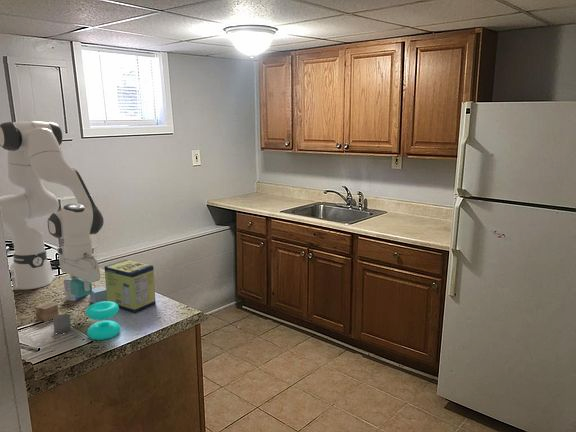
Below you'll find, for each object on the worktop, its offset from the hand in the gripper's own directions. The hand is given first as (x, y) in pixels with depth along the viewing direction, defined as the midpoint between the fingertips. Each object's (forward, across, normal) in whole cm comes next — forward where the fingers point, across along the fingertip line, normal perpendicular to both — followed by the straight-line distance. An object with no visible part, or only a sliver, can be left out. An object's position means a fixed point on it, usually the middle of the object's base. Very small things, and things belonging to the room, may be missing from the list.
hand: (81, 288), depth 163 cm
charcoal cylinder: (+10, -6, +11) cm, 16 cm away
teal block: (+2, 0, 0) cm, 2 cm away
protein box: (+10, -5, -16) cm, 20 cm away
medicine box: (+11, +19, -8) cm, 23 cm away
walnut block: (+10, +8, +9) cm, 16 cm away
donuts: (+10, -19, +4) cm, 22 cm away
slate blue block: (+10, +8, -11) cm, 17 cm away
